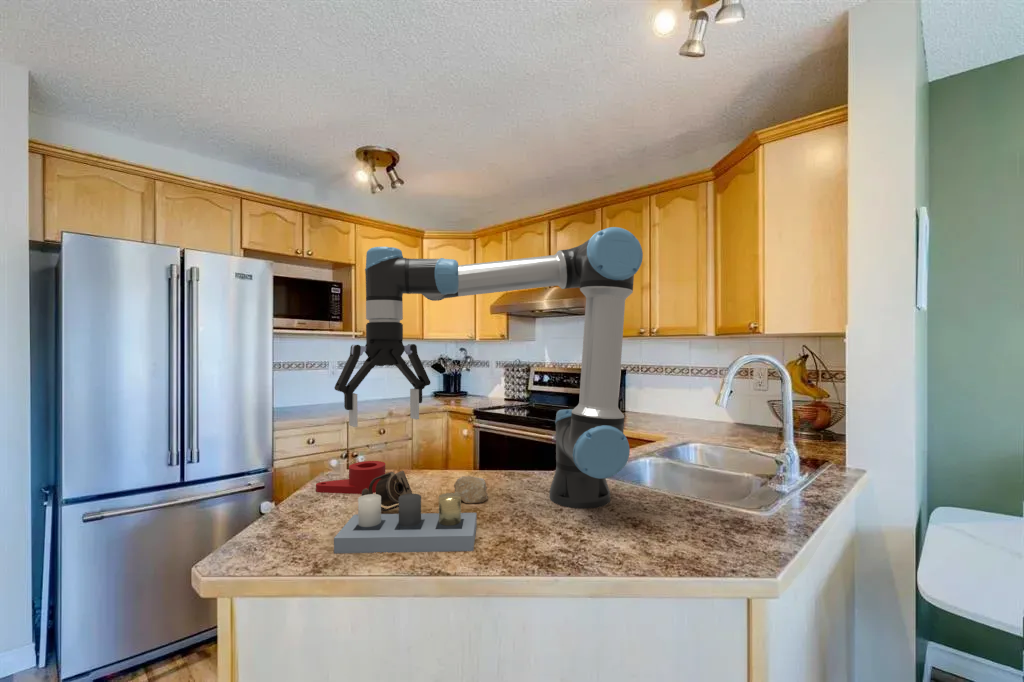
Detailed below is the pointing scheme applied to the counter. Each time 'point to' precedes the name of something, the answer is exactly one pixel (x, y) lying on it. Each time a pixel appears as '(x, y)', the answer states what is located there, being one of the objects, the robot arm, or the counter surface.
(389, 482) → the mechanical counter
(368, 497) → the white rounded cylinder
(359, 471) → the lever
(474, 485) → the stone
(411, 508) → the dark gray cylinder
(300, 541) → the counter surface
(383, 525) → the grey slotted holder
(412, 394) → the robot arm
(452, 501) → the gold cylinder
